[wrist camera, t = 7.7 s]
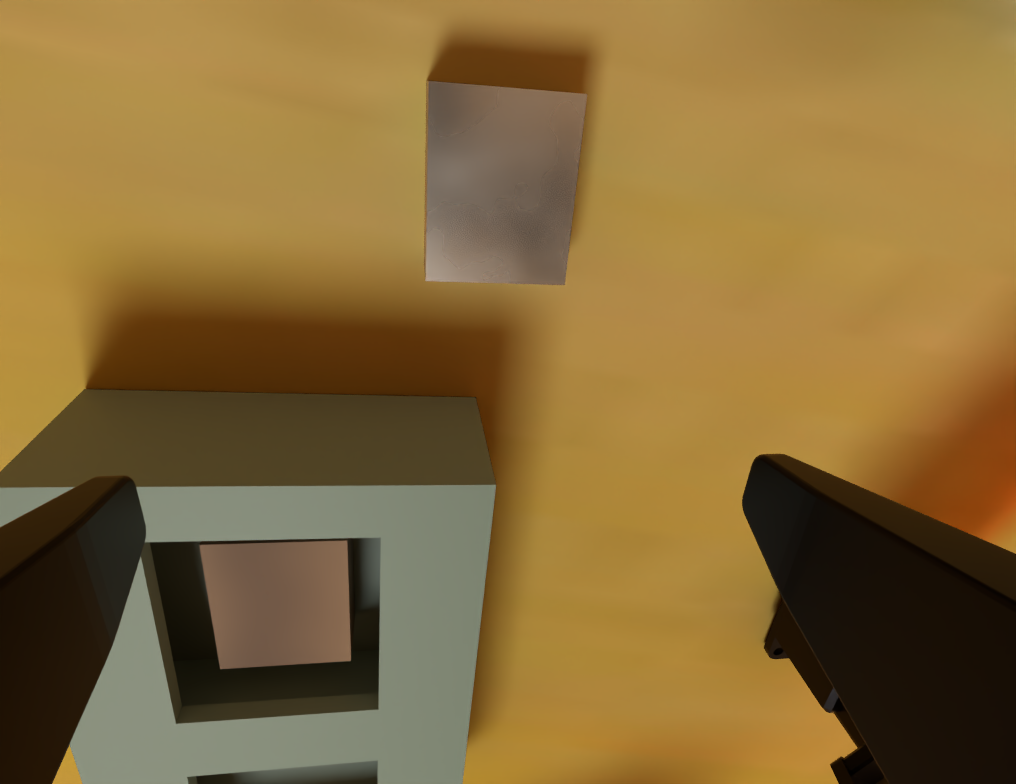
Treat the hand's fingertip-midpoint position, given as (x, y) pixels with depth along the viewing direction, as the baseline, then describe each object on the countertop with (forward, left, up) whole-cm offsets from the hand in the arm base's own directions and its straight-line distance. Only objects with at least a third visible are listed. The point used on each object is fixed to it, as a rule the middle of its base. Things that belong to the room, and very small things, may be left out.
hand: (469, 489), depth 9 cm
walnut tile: (+4, +9, -9) cm, 14 cm away
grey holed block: (+4, +14, -11) cm, 19 cm away
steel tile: (-2, -3, -12) cm, 12 cm away
